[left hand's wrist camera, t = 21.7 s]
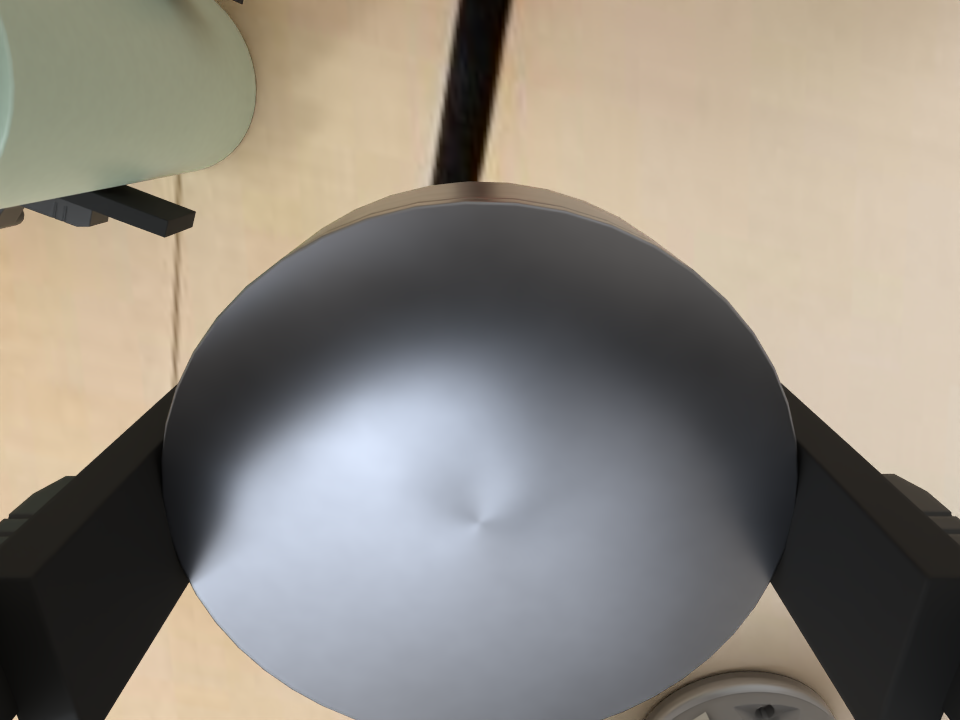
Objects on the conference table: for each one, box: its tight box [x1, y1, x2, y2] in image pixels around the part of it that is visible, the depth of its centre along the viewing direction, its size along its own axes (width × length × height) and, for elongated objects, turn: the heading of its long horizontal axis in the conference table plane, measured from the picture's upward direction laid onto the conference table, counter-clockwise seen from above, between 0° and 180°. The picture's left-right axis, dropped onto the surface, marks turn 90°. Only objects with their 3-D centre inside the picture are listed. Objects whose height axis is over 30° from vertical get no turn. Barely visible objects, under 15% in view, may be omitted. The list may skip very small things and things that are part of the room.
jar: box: [0, 0, 256, 209], centre depth 22 cm, size 9×9×20 cm
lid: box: [161, 182, 798, 720], centre depth 11 cm, size 10×10×2 cm
